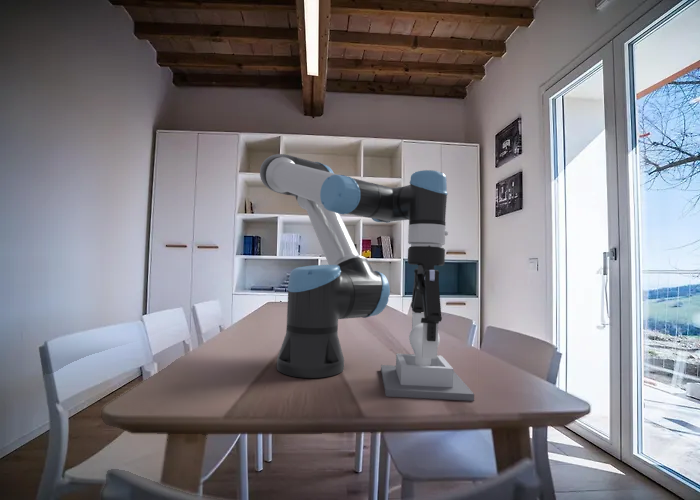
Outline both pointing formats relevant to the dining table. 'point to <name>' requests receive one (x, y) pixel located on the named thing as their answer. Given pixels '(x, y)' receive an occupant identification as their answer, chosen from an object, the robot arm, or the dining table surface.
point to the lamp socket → (423, 380)
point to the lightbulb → (419, 345)
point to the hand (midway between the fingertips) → (423, 349)
